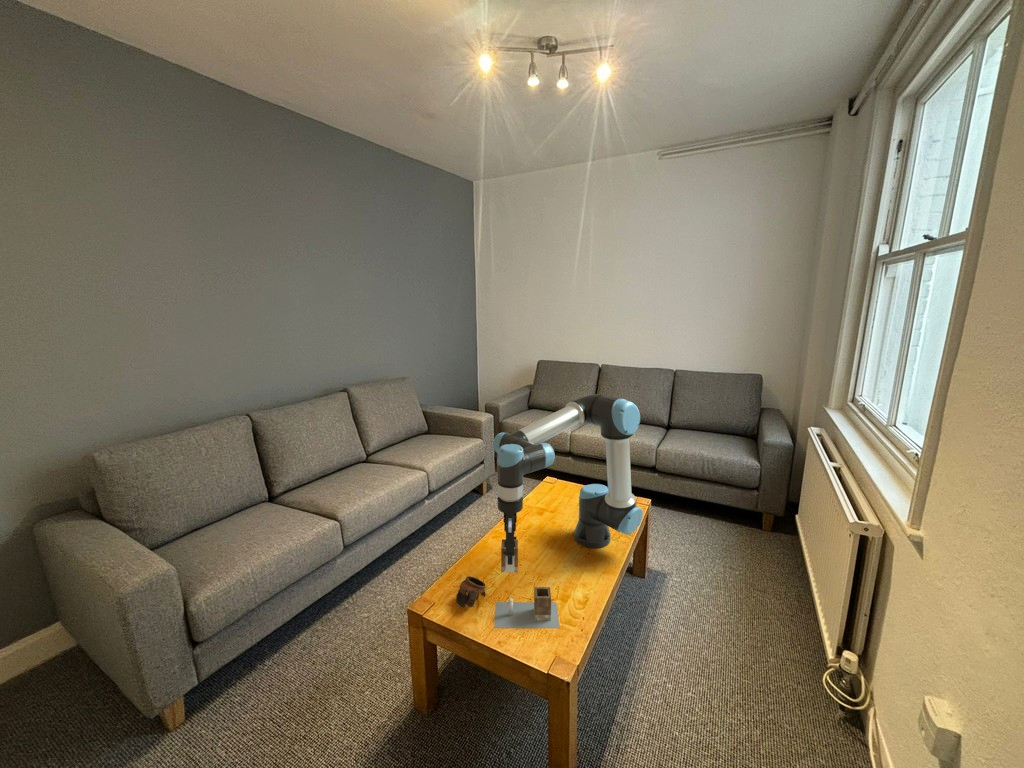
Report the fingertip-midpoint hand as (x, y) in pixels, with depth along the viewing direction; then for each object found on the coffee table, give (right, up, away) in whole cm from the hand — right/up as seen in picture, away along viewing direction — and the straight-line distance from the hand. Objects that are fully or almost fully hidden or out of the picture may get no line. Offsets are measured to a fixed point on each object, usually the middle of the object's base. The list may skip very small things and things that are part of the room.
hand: (510, 565), depth 129 cm
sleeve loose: (0, -1, 0) cm, 1 cm away
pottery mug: (-13, -17, +11) cm, 24 cm away
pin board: (+5, -18, +4) cm, 19 cm away
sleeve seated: (+10, -17, +4) cm, 20 cm away
